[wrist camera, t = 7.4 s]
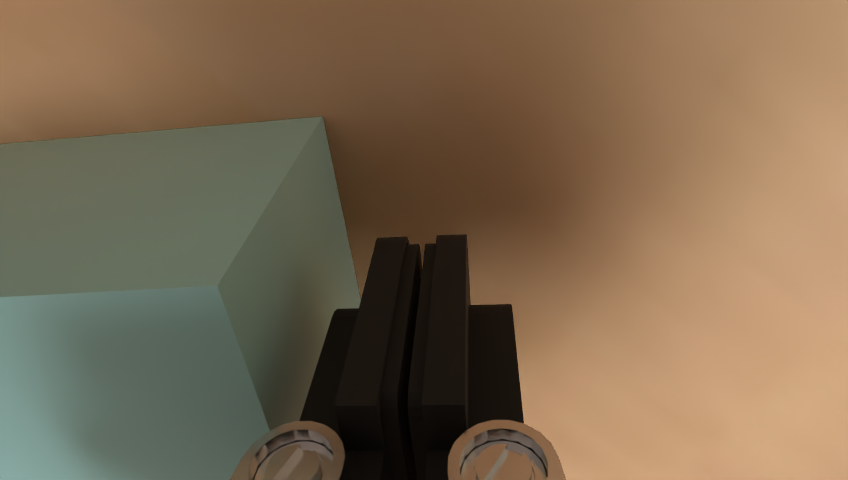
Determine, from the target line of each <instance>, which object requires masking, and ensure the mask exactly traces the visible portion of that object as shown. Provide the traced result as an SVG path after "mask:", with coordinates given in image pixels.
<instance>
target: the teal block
mask: <svg viewBox="0 0 848 480" xmlns="http://www.w3.org/2000/svg"><path fill="white" fill-rule="evenodd" d="M360 302H361V298H360V294H359V289H358V284H357V279H356V274H355V269H354V265H353V260H352V255H351V250H350V245H349V241H348V236H347V231H346V226H345V221H344V216H343V212H342V207H341V202H340V197H339V192H338V188H337V183H336V178H335V173H334V168H333V164H332V159H331V154H330V149H329V144H328V139H327V135H326V130H325V125H324V120H323V116H321V117H309V118H298V119H286V120H274V121H263V122H251V123H239V124H228V125H216V126H204V127H193V128H181V129H169V130H157V131H146V132H134V133H122V134H111V135H99V136H87V137H76V138H64V139H52V140H41V141H29V142H17V143H6V144H0V480H230V478H231V476H232V475H233V473H234V471H235V469H236V468H237V466H238V464H239V462H240V461H241V459H242V457H243V456H244V454H245V453H246V452H247V450H248V449H249V448H250V446H251V445H252V444H253V443H254V442H255V441H256V440H258V439H259V438H260V437H261V436H262V435H264V434H265V433H266V432H268V431H270V430H272V429H274V428H276V427H278V426H280V425H283V424H287V423H291V422H295V421H299V420H300V417H301V414H302V411H303V408H304V404H305V401H306V398H307V395H308V392H309V388H310V385H311V382H312V379H313V376H314V372H315V369H316V366H317V363H318V360H319V357H320V353H321V350H322V347H323V344H324V341H325V337H326V334H327V331H328V328H329V325H330V321H331V318H332V316H333V313H334V311H335V310H336V309H349V308H359V306H360Z"/></svg>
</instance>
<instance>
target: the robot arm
mask: <svg viewBox="0 0 848 480" xmlns="http://www.w3.org/2000/svg"><path fill="white" fill-rule="evenodd" d="M230 480H566V477H565V474H564V471H563V468H562V466H561V463H560V460H559V457H558V455H557V453H556V451H555V449H554V447H553V446H552V444H551V442H550V441H549V440H548V439H546V438H545V437H544V436H543V435H542V434H541V433H540V432H539V431H537V430H535V429H534V428H532V427H530V426H528V425H526V424H524V421H523V411H522V401H521V391H520V381H519V371H518V361H517V352H516V342H515V332H514V322H513V312H512V305H511V304H499V305H471V302H470V284H469V266H468V248H467V235H466V234H465V235H440V236H437V238H436V243H435V244H425V251H424V260H423V268H422V262H421V252H420V246H419V244H410V245H409V240H408V238H407V237H390V238H377V240H376V244H375V248H374V252H373V255H372V259H371V263H370V267H369V271H368V275H367V279H366V283H365V287H364V290H363V294H362V298H361V302H360V306H359V308H349V309H336V310H335V311H334V313H333V316H332V318H331V321H330V325H329V328H328V331H327V334H326V337H325V341H324V344H323V347H322V350H321V353H320V357H319V360H318V363H317V366H316V369H315V372H314V376H313V379H312V382H311V385H310V388H309V392H308V395H307V398H306V401H305V404H304V408H303V411H302V414H301V417H300V420H299V421H295V422H291V423H287V424H283V425H280V426H278V427H276V428H274V429H272V430H270V431H268V432H266V433H265V434H264V435H262V436H261V437H260V438H259V439H258V440H256V441H255V442H254V443H253V444H252V445H251V446H250V448H249V449H248V450H247V452H246V453H245V454H244V456H243V457H242V459H241V461H240V462H239V464H238V466H237V468H236V469H235V471H234V473H233V475H232V476H231V478H230Z"/></svg>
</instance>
